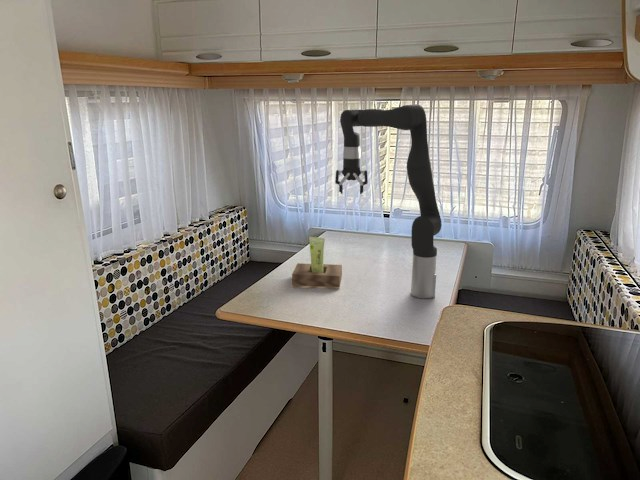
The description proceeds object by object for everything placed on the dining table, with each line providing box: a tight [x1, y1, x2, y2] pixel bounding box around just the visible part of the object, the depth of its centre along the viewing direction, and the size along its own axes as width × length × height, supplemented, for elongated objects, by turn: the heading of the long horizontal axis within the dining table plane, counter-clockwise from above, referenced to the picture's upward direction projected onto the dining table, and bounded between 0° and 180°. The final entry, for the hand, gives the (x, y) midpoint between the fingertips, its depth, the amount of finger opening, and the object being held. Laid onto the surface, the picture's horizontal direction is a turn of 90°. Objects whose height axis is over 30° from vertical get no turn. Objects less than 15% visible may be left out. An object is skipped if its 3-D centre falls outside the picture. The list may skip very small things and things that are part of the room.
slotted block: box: [291, 262, 343, 290], centre depth 207 cm, size 20×14×6 cm
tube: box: [308, 236, 326, 273], centre depth 205 cm, size 6×5×20 cm
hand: (351, 193), depth 214 cm, fingers open, 8 cm apart
